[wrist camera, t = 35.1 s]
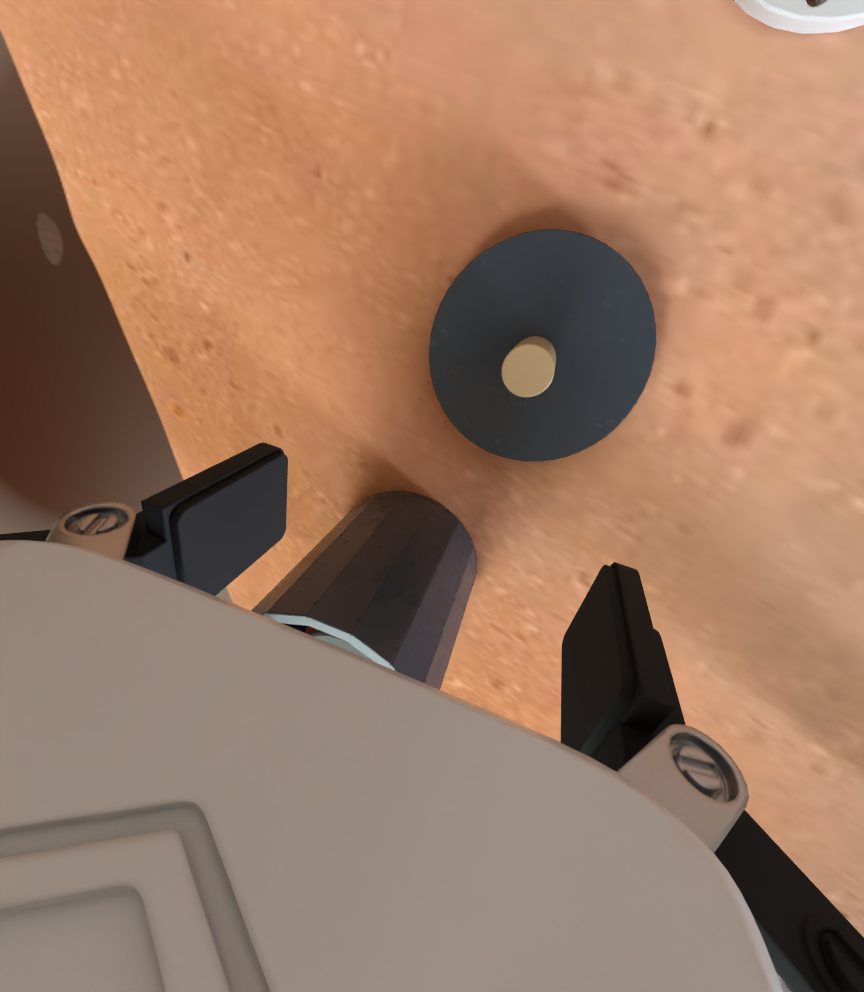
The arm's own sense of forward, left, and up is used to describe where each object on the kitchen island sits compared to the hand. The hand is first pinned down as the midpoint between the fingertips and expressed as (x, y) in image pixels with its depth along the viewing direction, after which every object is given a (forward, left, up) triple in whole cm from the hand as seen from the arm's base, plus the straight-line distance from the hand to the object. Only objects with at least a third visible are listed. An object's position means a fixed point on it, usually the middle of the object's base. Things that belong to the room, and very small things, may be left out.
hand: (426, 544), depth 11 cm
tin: (+15, -4, -18) cm, 23 cm away
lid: (-3, +1, -17) cm, 17 cm away
